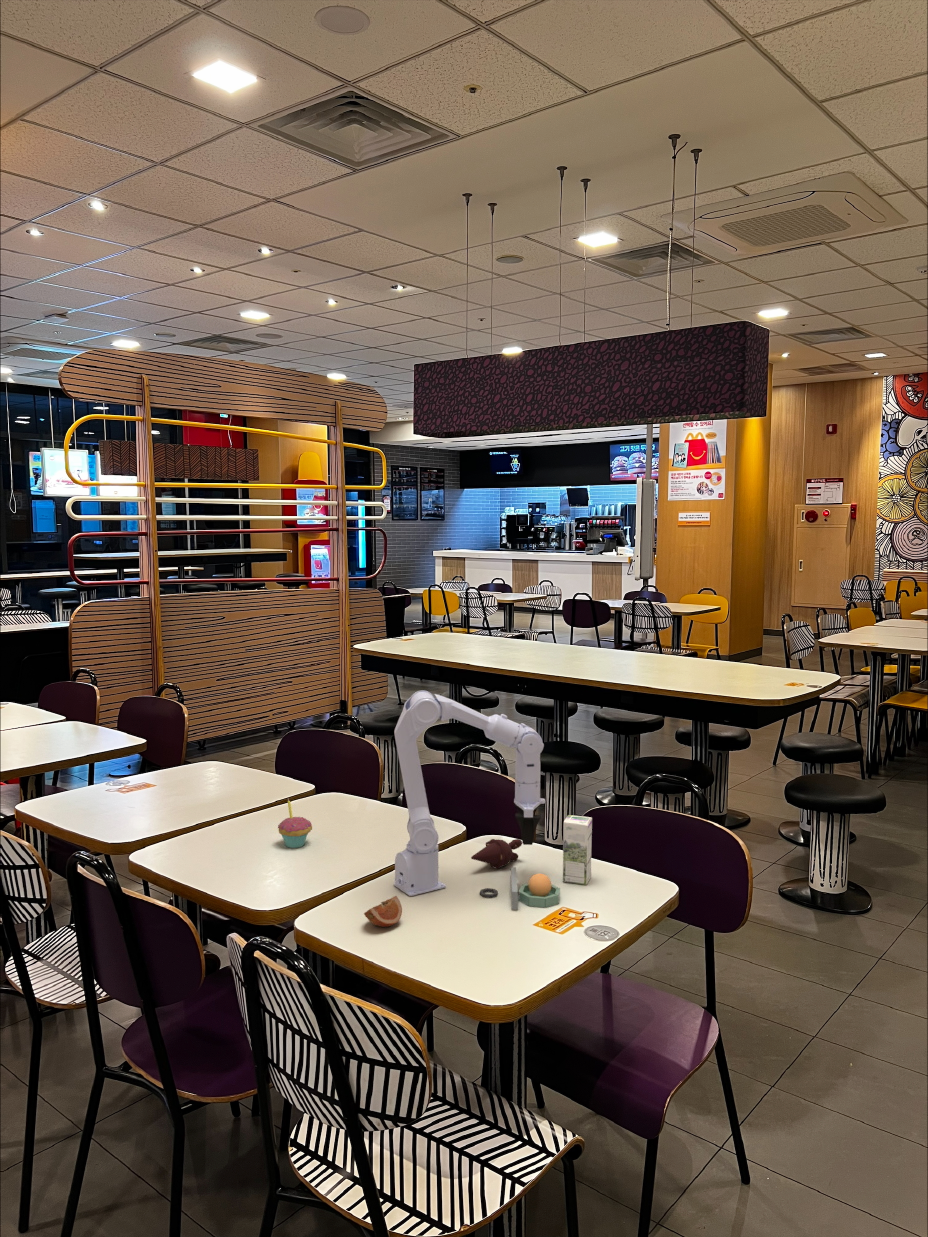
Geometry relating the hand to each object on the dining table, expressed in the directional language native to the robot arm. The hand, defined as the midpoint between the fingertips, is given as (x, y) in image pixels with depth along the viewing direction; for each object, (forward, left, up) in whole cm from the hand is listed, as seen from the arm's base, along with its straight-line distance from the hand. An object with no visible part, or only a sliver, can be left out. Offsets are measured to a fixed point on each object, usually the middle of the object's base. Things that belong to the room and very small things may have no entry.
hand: (527, 838), depth 203 cm
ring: (-12, -2, -10) cm, 16 cm away
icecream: (-1, +11, -10) cm, 15 cm away
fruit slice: (-39, -3, -10) cm, 40 cm away
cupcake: (-36, +51, -10) cm, 63 cm away
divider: (-8, -6, -10) cm, 14 cm away
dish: (-4, -10, -10) cm, 15 cm away
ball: (-4, -10, -7) cm, 13 cm away
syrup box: (+10, -6, -10) cm, 15 cm away
